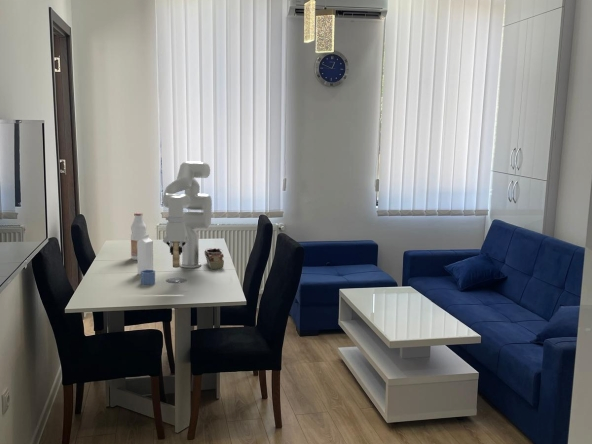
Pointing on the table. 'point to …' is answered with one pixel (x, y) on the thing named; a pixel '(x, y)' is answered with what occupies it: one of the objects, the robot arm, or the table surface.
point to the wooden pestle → (176, 254)
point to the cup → (147, 277)
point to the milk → (145, 254)
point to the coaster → (176, 280)
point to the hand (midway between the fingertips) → (176, 253)
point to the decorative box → (214, 258)
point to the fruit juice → (137, 233)
